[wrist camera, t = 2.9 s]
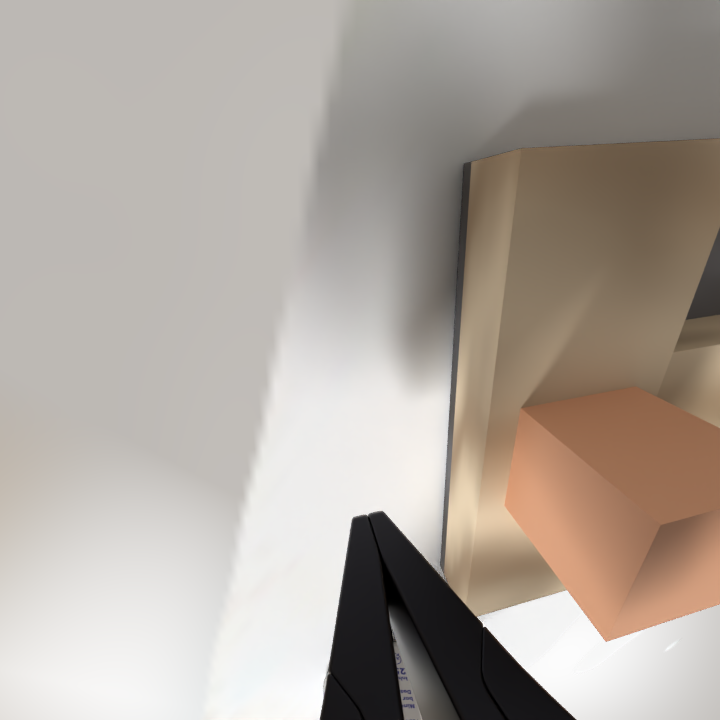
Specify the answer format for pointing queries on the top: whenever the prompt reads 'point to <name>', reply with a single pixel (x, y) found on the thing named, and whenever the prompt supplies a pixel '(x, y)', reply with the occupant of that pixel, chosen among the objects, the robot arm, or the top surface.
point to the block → (621, 505)
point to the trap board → (570, 321)
